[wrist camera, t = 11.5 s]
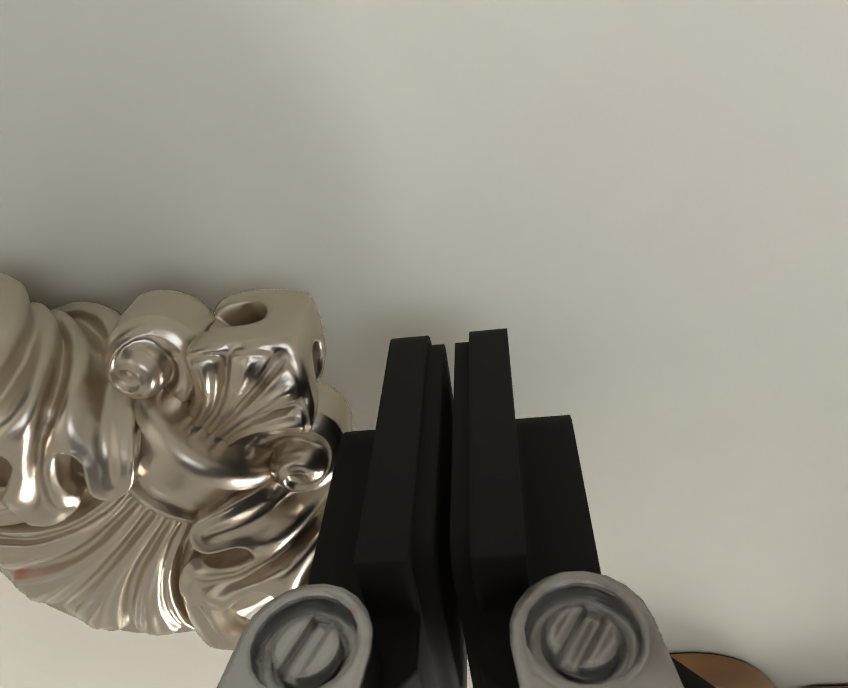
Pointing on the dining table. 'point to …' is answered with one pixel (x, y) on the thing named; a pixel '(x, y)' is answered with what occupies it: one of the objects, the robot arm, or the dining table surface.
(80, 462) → the ornament
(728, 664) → the spoon
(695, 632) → the dining table surface
